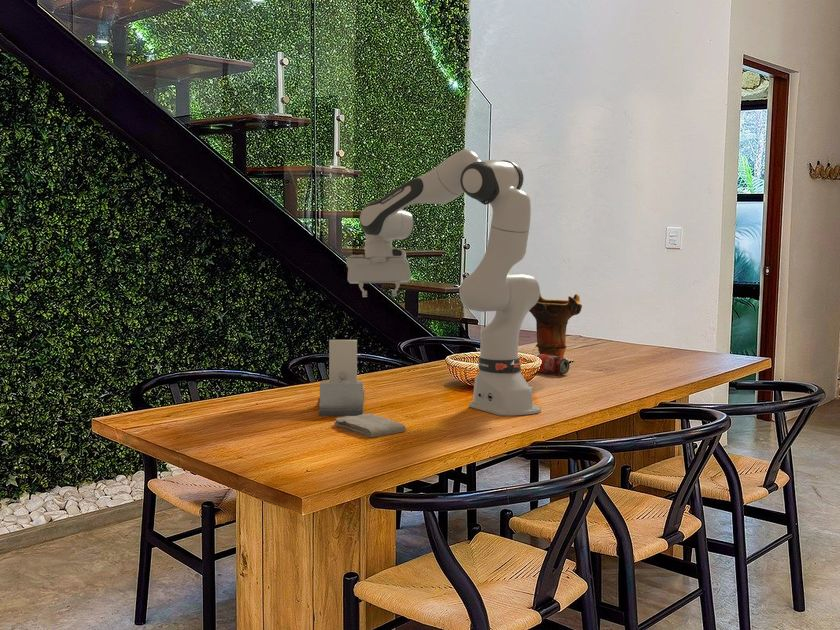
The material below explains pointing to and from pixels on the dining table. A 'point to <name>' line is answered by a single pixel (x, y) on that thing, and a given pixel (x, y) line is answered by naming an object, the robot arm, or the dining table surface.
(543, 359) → the beverage can
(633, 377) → the dining table surface
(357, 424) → the washcloth
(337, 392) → the base
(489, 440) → the dining table surface
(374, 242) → the robot arm
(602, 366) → the dining table surface
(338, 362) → the upright white panel
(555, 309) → the decorative vase
